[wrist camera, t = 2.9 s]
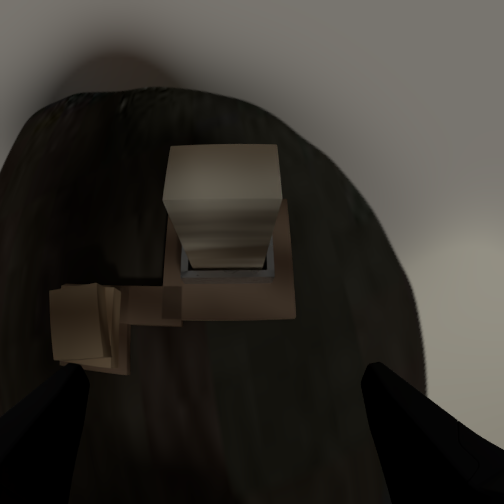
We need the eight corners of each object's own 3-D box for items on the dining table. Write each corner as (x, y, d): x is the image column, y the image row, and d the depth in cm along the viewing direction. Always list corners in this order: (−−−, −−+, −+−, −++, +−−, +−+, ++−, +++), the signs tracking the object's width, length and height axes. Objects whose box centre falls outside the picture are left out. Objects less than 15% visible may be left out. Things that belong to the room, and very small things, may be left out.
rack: (296, 376, 20) (304, 378, 18) (64, 365, 19) (48, 364, 17) (285, 203, 25) (290, 187, 23) (82, 209, 24) (70, 196, 22)
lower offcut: (118, 367, 19) (110, 368, 18) (66, 360, 19) (56, 359, 17) (121, 291, 21) (114, 287, 20) (70, 289, 21) (61, 285, 19)
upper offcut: (112, 357, 18) (103, 356, 17) (64, 360, 17) (53, 360, 16) (104, 287, 20) (96, 282, 18) (59, 295, 19) (49, 290, 18)
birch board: (260, 273, 22) (282, 198, 12) (195, 273, 22) (162, 200, 12) (259, 236, 23) (276, 144, 13) (196, 237, 23) (170, 146, 13)
